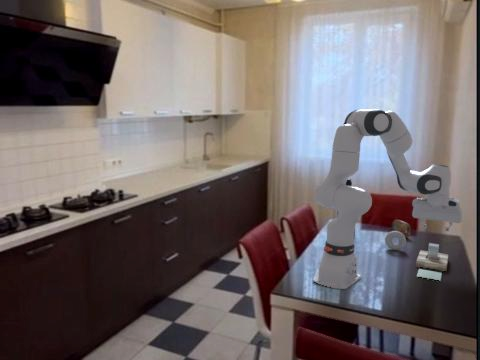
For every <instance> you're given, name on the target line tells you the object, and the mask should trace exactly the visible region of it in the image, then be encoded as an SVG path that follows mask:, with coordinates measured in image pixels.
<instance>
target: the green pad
mask: <svg viewBox="0 0 480 360" xmlns="http://www.w3.org/2000/svg"><path fill="white" fill-rule="evenodd" d="M418 277H422V278H421V279H423V278H427V279H426V280H429V279H434V280H439V281H440V282H441V281H442V272H441V271H435V270H434V271H433V270H430V269H424V268H418V270H417V274H416V278H418ZM434 280H433V281H434ZM439 281H438V282H439Z"/></svg>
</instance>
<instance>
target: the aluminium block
mask: <svg viewBox="0 0 480 360" xmlns="http://www.w3.org/2000/svg"><path fill="white" fill-rule="evenodd" d="M439 247H440V244H437V243H431V242H429V243H428V250H427V251H428V259H434V260H438V253H439V249H440V248H439Z"/></svg>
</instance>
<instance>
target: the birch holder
mask: <svg viewBox="0 0 480 360" xmlns="http://www.w3.org/2000/svg"><path fill="white" fill-rule="evenodd" d="M448 260H449V253H448V254H447V253H441V252H438V260H434V259H428V250H421V249H420V251H419V253H418V256H417V258H416V263H415V264H416V266H415V267H416V268H420V267H423V268H422V269H426V268H430V269H429V270H431V269H437V270H442V271H441V272H443V271H446V272H447V268H448V263H449V262H448ZM437 270H436V271H437Z"/></svg>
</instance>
